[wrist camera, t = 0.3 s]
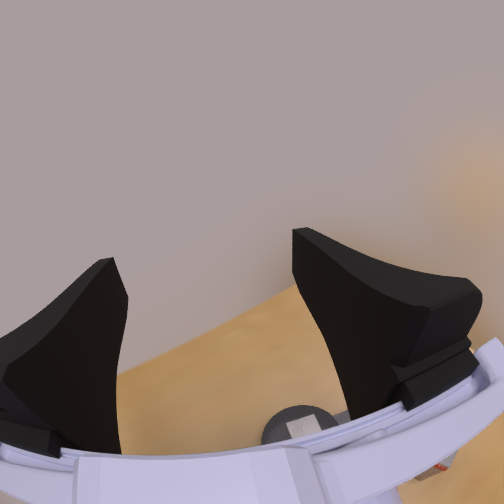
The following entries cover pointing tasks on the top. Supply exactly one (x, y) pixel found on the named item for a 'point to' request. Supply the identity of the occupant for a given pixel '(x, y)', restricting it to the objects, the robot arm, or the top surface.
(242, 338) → the top surface
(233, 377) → the top surface
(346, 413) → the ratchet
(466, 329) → the robot arm
